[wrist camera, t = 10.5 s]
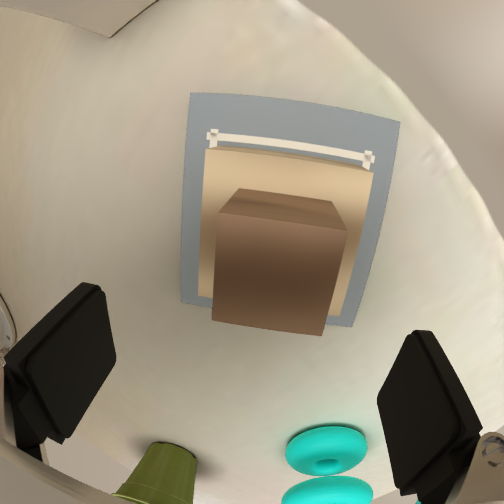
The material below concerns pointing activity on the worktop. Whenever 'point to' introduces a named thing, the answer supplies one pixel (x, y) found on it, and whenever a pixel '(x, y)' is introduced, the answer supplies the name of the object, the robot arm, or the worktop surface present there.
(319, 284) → the walnut block
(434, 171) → the worktop surface
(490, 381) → the worktop surface
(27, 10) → the milk carton
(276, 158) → the maple slab
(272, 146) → the board
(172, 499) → the plant pot
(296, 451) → the donuts
